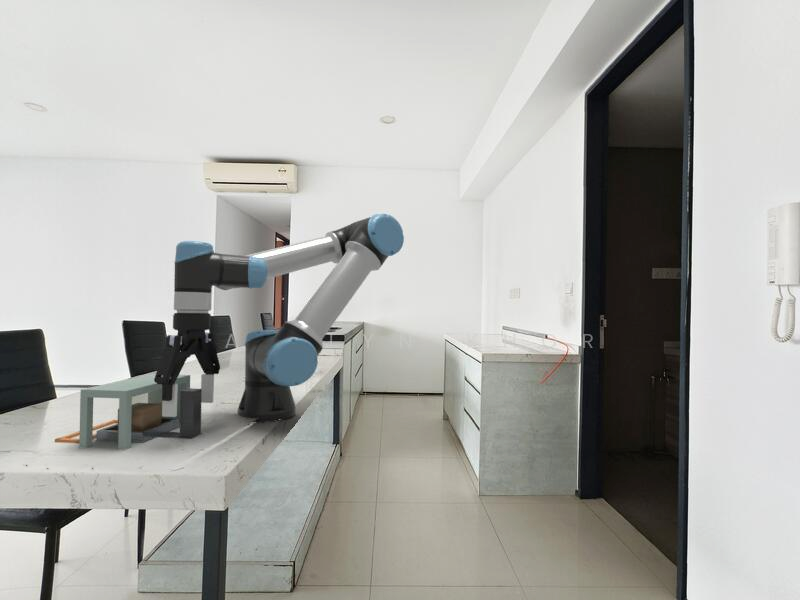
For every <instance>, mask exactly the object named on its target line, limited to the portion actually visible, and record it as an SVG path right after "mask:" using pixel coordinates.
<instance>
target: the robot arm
mask: <svg viewBox="0 0 800 600" xmlns="http://www.w3.org/2000/svg"><path fill="white" fill-rule="evenodd" d="M404 241H405V237H404V231H403V228H402V226H401V224H400V222H399V221H398V220H397V218H395V217H394V216H392V215H391V214H387V213H380V214H378V213H376V214H373V215H372V216H369V217H366V218H363V219H361V220H357V221H354V222H352V223H350V224H348V225H346V226H344V227H341V228H338V229H336V230H332V231H328V232H326V233H325V236H321V237H318V238H313V239H309V240H305V241H301V242H296V243H292V244H291V243H290V244H288V245H284V246H279V247H275V248H271V249H268V250H263V251H258V252H254V253H250V254H246V255H240V254H239V255H238V254H224V253H223V254H222V253H218V252H215V251H214V246H213V245H212V243H210V242H209V243H208V242H203V241H195V240H184V241H180V242H179V243H177V244H176V248H175V256H174V257H175V258H174V259H175V260H174V261H173V262H174V279H173V280H174V285H173V286H174V290H173V291H174V295H173V296H174V297H173V310H174V311H176V312H174V314H173V315H172V329H173V330H175V331H177V334H175V335H173V334H170V335H167V336H166V339H165V340H166V341H165V347H164V350H163V353H162V355H161V358H160V361H159V364H158V367H157V370H156V373H155V374H156V375H155V378H154V382H156V383H157V384H162V416H165V417H176V416H177V392H178V384H174V383H175V381H176V379H177V377H178V375H180V373H181V371H182V369H183V367H184V366H185V364H186V361H187V359H188V358H190V357H191V356H195V357H196V360H197V361H198V364H199V366H200V368H201V369H202V371H203V374H201V382H200V389H202V395H201V404H202V403H203V404H205V403H206V404H212V403H214V389H215V388H214V387H215V375H218V374H219V373H220V370H221V364H220V361H219V357H218V353H217V349H216V345H215V334H214V332H206V331H209V330H210V329H211V327H212V326H211V324H212V315H211V313H209V311H210V312H211V310H212V297H213V296H212V293H213V292H212V289H213V287H215V288H218V289H220V290H223V291H228V290H231V289H240V288H242V289H245V288H246V289H248V288H249V289H261V288H263V287H264V286H265V285H266V282H267V280H268V279H271V278H276V277H279V276H280V277H281V276H283V275H287V274H290V273H293V272H297V271H300V270H305V269H309V268H312V267H317V266H319V265H320V266H321V265H323V264H327V263H330V262H332V263H333V264H336V265H335V266H334V268H333V269H332V270H331V271H330V273H329V274H328V275H327V277H326V278H325V279H324V280H323V282H322V284H320V286H319V287H318V289H317V290H316V291H315V293H314V294H313V295H312V296H311V298H310V299H309V300H308V302H307V303H306V304H305V305H304V307H303V309H301V311H300V312H299V314H297V316H296V317H295V319H294V320H289V321H285V322H284V323H283V325H282V326H281V327H280V328H279V329H263V330H254V331H250V332H248V333H247V334H246V336H245V342H244V346H245V353H244V354H245V356H244V357H245V359H244V360H245V361H244V362H245V364H244V365H245V366H244V367H245V369H244V382H245V383H244V390H243V394H242V396H241V399H240V402H239V404H238V407H237V415H238V416H240V417H243V418H247V419H255V420H253V421H252V422H253V423H266V422H265V421H270V422H275V421H274V420H278V421H280V420H279V419H283V420H287V419H290V418H292V417H294V416H295V415H296V411H297V408H296V407H297V406H296V401H295V400H294V397H293V393H292V390H291V387H295V386H296V387H297V386H299V385H303V384H304V383H305V382H308V380H310V378H311V377H312V376H313V375H314V373H316V370H317V367H318V358H319V355H320V353H321V352H322V351H323V348H324V346H323V339H324V338H325V336H326V335H327V334H328V332H329V330H330V329H331V328H332V326H333V325H334V323H335V322H336V321H337V320H338V318H339V316H340V315H341V314H342V313H343V311H344V310H345V308H346V306H347V305H348V304H349V303H350V301H351V300H352V298H353V297H354V296H355V294H356V293H357V291H358V290H359V288H360V287H361V286H362V285H363V283H364V281H366V279H367V277H368V276H369V275H370V273H371V272H373V271H379V270H380V269H381V267H382V266H383V264H384V263H385V261H386V260H387V259H388V257H391V256H394V255H396V254H397V253H399V252H400V251H401V249H402V248H403V246H404V245H403V244H404ZM162 375H163V376H162ZM161 376H162V377H161Z"/></svg>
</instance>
